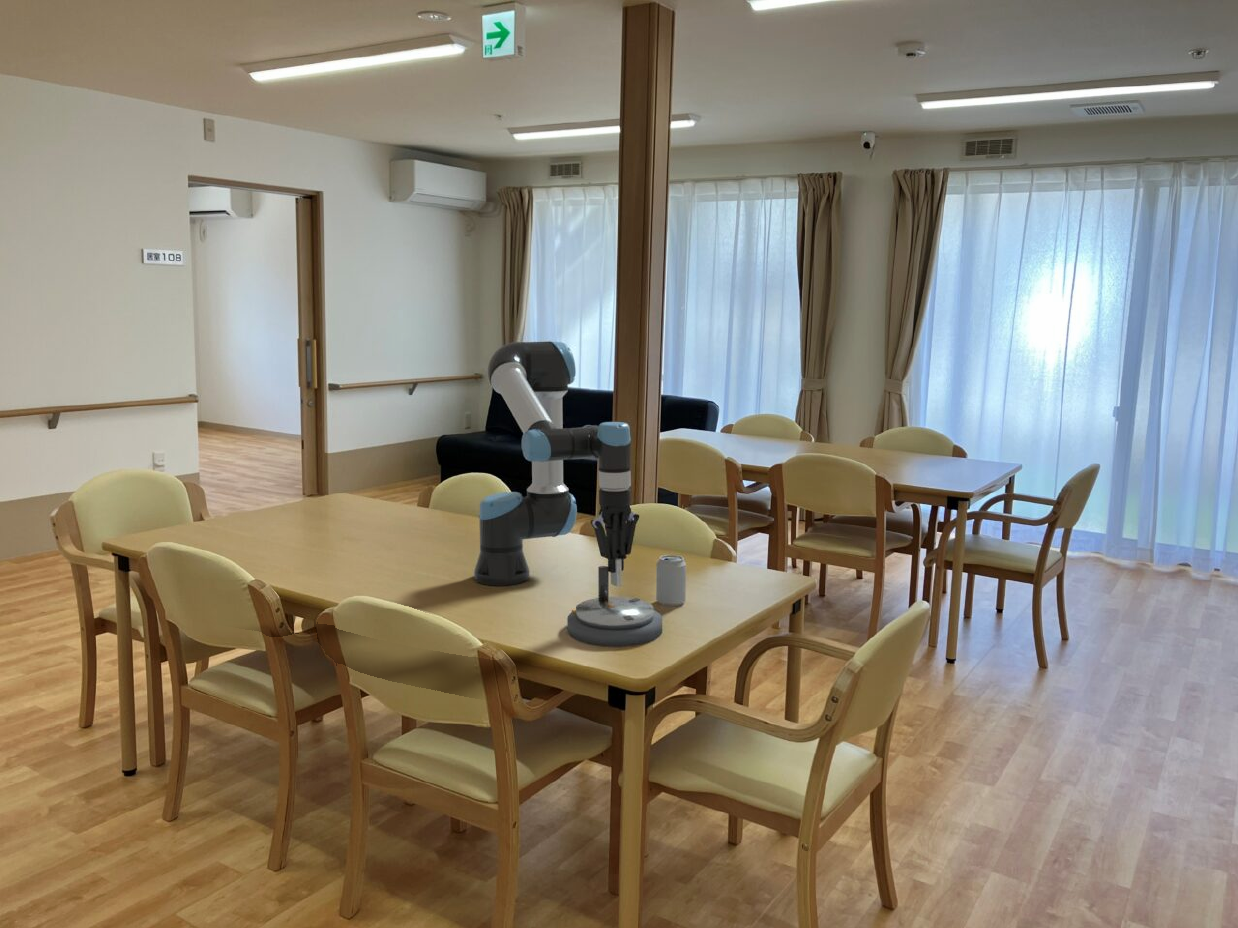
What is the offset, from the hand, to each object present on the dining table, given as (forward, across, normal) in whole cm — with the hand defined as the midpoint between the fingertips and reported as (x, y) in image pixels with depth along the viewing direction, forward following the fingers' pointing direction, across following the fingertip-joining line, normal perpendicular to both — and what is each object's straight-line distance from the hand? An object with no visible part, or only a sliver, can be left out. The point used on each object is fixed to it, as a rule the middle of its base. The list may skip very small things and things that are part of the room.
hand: (616, 584), depth 232 cm
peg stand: (+5, +5, +7) cm, 10 cm away
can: (+9, -19, -2) cm, 21 cm away
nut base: (+8, +5, +7) cm, 12 cm away
